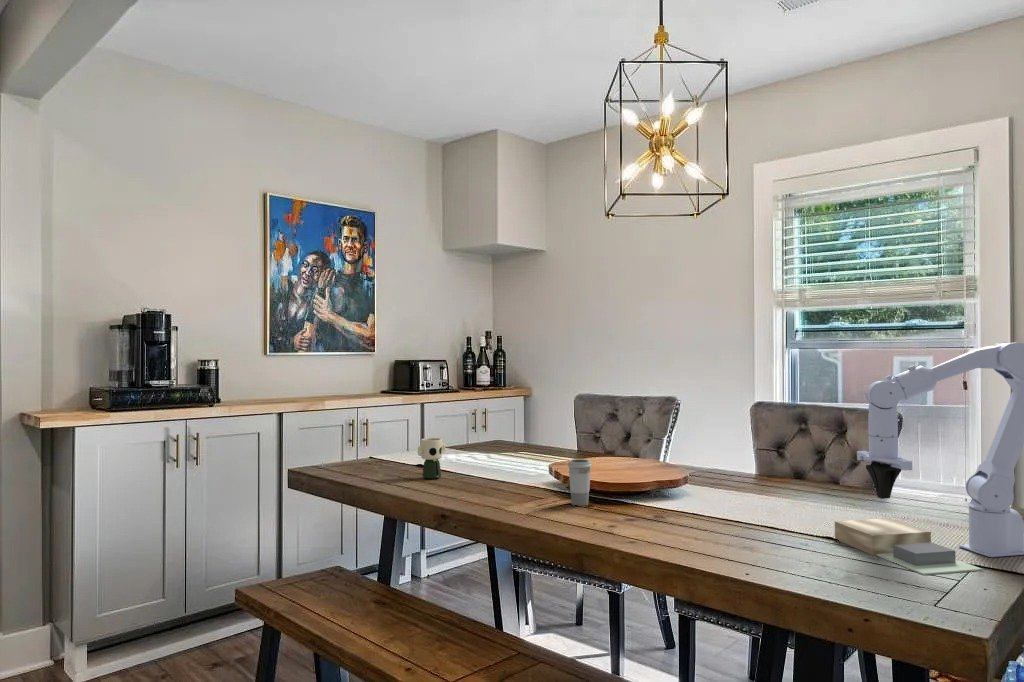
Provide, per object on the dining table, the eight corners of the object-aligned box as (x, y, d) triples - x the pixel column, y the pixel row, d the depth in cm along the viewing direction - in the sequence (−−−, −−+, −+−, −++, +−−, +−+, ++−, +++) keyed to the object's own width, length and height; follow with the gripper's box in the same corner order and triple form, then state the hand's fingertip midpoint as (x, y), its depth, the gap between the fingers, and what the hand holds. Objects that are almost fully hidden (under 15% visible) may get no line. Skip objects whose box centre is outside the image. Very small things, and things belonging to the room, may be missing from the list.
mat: (930, 551, 145) (930, 550, 145) (982, 570, 133) (982, 568, 133) (876, 555, 143) (876, 554, 143) (923, 575, 131) (923, 573, 131)
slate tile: (955, 550, 137) (955, 562, 137) (931, 542, 143) (931, 554, 143) (915, 553, 135) (916, 565, 135) (893, 545, 141) (893, 556, 141)
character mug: (424, 482, 224) (424, 441, 224) (412, 479, 229) (411, 439, 229) (451, 477, 231) (451, 438, 231) (438, 474, 237) (438, 436, 237)
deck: (889, 535, 158) (889, 518, 158) (931, 550, 146) (930, 531, 146) (834, 539, 155) (834, 521, 155) (872, 554, 143) (872, 535, 143)
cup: (588, 507, 187) (588, 463, 187) (564, 506, 189) (564, 462, 189) (594, 502, 194) (594, 459, 194) (571, 500, 196) (570, 458, 196)
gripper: (844, 432, 158) (845, 491, 158) (891, 440, 144) (892, 506, 144) (872, 431, 160) (872, 490, 160) (920, 439, 145) (921, 504, 145)
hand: (883, 497), depth 152 cm, fingers closed
